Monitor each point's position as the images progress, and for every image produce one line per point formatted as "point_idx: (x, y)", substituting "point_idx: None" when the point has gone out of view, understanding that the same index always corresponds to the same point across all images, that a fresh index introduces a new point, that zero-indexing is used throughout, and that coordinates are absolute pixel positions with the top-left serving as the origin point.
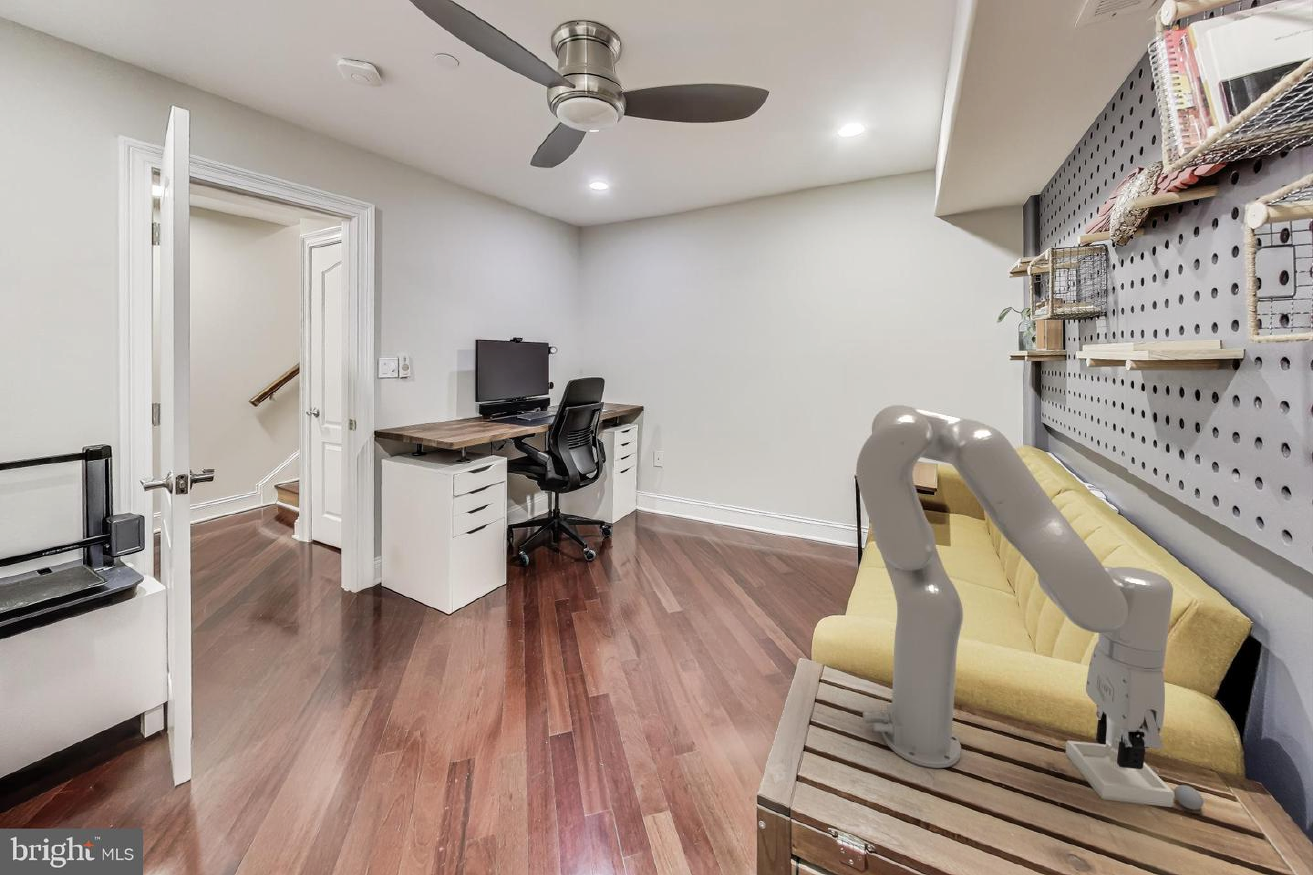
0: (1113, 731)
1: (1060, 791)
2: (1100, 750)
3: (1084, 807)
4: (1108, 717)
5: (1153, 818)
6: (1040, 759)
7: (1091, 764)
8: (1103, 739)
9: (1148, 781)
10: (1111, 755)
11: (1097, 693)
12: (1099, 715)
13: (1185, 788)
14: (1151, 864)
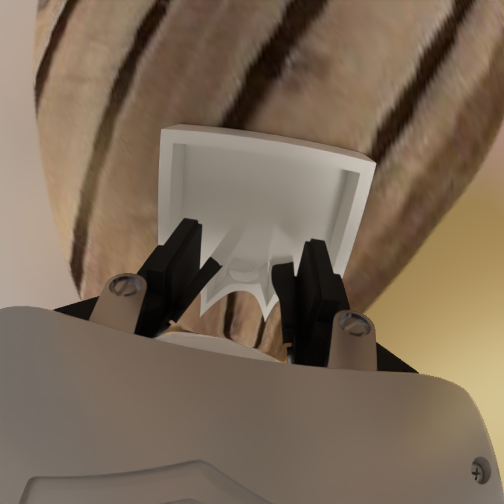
0: (204, 294)
1: (205, 26)
2: (334, 249)
3: (151, 58)
4: (227, 342)
5: (134, 209)
6: (339, 52)
7: (300, 186)
8: (304, 260)
9: None
10: (241, 232)
11: (337, 486)
12: (352, 325)
13: None
14: (37, 120)
